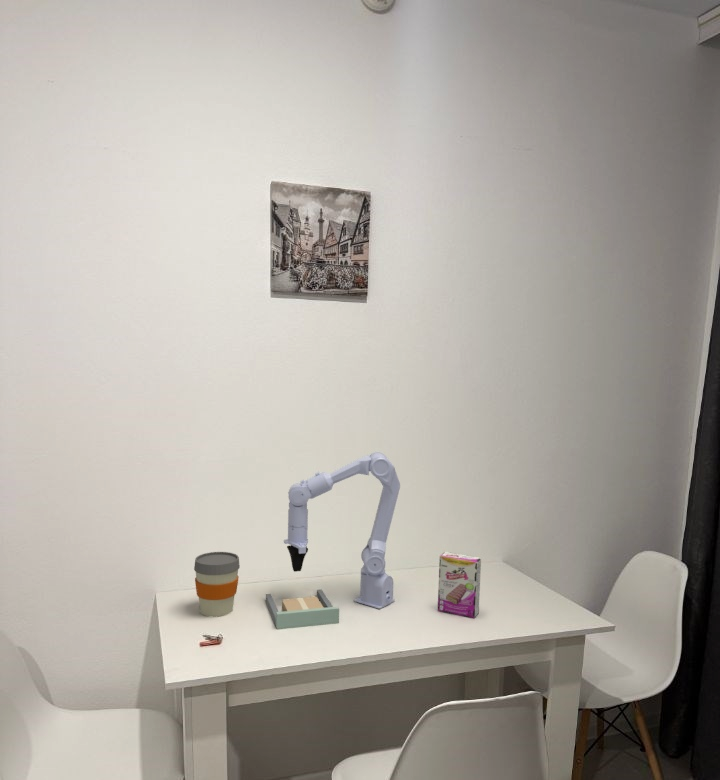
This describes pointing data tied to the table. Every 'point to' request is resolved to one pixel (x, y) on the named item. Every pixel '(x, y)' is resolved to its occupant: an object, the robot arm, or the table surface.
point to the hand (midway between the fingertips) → (297, 570)
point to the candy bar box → (459, 584)
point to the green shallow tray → (304, 614)
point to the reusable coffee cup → (216, 582)
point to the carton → (300, 604)
